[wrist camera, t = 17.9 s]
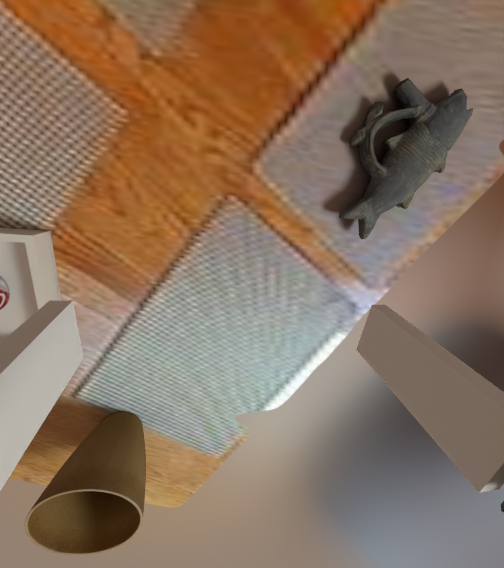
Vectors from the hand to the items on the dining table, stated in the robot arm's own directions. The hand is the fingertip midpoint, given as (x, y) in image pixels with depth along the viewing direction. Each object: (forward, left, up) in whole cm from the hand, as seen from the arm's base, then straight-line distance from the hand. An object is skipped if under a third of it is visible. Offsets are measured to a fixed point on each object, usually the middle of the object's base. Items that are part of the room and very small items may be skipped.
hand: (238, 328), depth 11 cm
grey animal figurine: (-14, +27, -31) cm, 43 cm away
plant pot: (+40, -16, -31) cm, 53 cm away
